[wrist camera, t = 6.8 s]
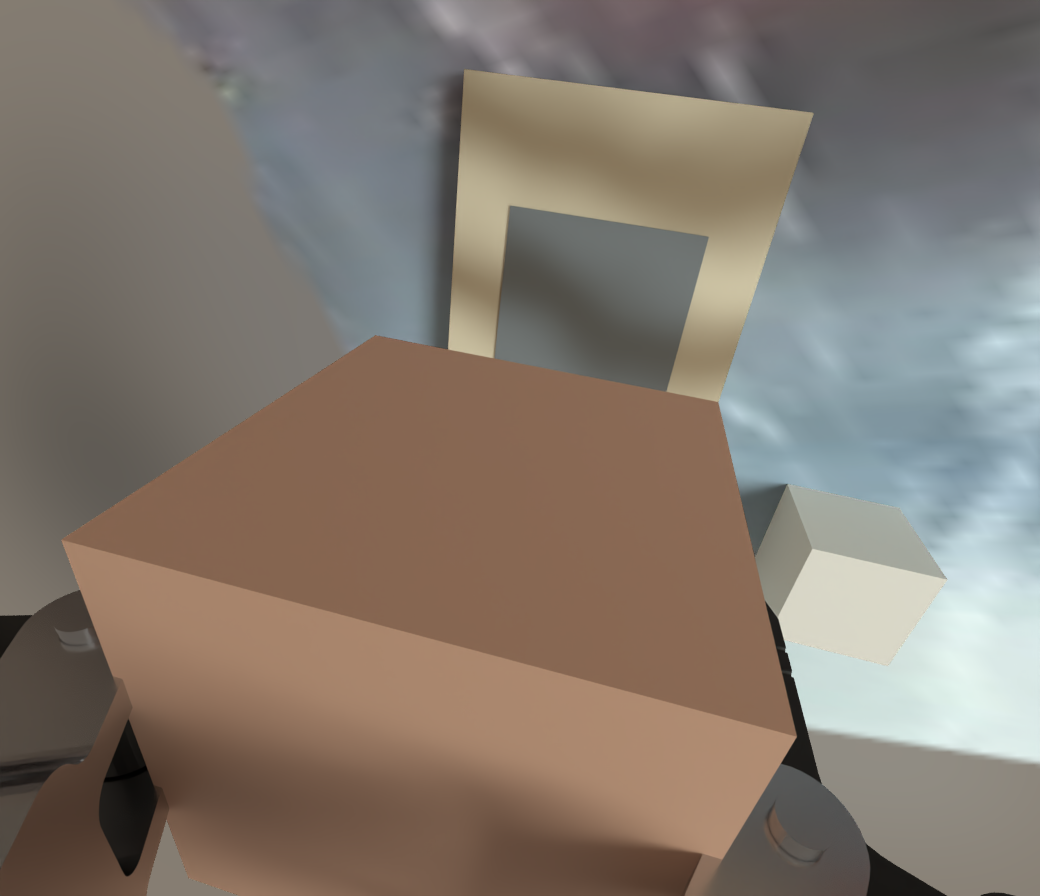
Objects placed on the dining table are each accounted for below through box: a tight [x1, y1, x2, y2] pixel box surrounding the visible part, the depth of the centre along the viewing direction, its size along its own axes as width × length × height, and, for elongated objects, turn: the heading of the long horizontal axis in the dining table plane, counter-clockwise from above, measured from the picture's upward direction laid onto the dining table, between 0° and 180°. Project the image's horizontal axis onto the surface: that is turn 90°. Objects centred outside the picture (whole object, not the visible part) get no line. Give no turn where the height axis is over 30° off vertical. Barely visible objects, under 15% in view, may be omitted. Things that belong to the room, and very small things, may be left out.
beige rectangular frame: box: [448, 69, 814, 402], centre depth 23 cm, size 16×12×2 cm
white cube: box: [755, 484, 947, 666], centre depth 25 cm, size 5×5×5 cm
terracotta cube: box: [62, 335, 797, 896], centre depth 8 cm, size 6×6×6 cm
